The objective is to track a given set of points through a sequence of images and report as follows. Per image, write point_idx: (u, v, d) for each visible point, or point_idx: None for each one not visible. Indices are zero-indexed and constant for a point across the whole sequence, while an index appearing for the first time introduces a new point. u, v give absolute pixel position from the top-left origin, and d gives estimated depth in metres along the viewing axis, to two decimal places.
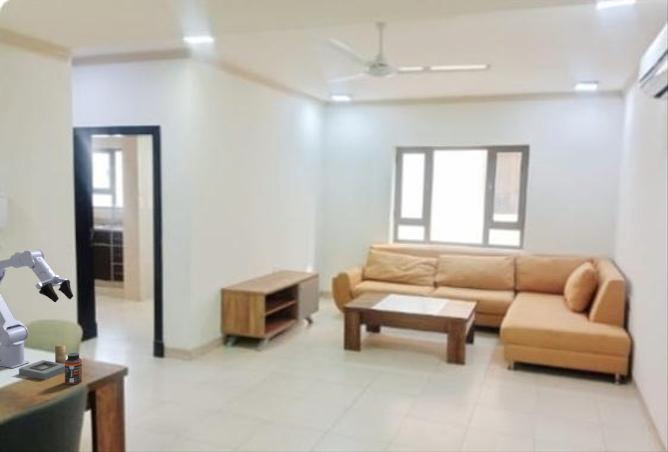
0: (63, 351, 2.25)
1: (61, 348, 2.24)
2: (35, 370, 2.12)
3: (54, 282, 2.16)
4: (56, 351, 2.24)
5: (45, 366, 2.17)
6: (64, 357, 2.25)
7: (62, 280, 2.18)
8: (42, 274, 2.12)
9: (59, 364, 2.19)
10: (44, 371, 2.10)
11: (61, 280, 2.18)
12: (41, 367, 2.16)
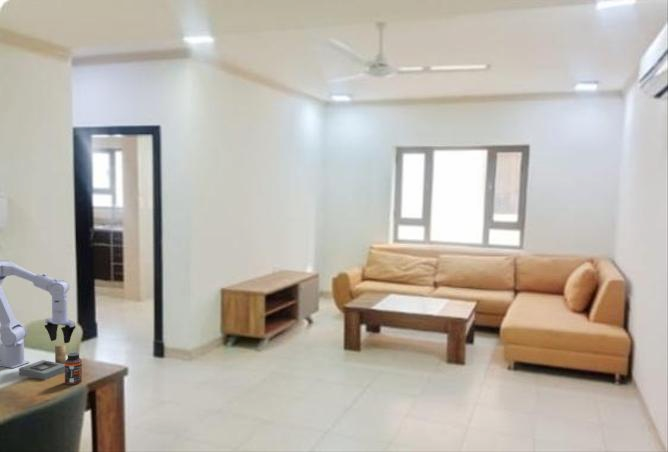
0: (63, 351, 2.25)
1: (61, 348, 2.24)
2: (35, 370, 2.12)
3: None
4: (56, 351, 2.24)
5: (45, 366, 2.17)
6: (64, 357, 2.25)
7: None
8: (66, 312, 2.24)
9: (59, 364, 2.19)
10: (44, 371, 2.10)
11: None
12: (41, 367, 2.16)
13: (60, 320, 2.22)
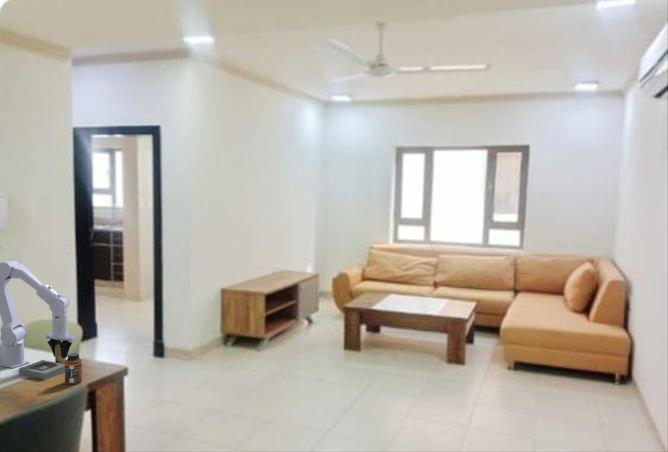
0: None
1: None
2: (35, 370, 2.12)
3: None
4: (56, 351, 2.24)
5: (45, 366, 2.17)
6: None
7: None
8: (66, 327, 2.25)
9: (59, 364, 2.19)
10: (44, 371, 2.10)
11: None
12: (41, 367, 2.16)
13: (60, 336, 2.22)
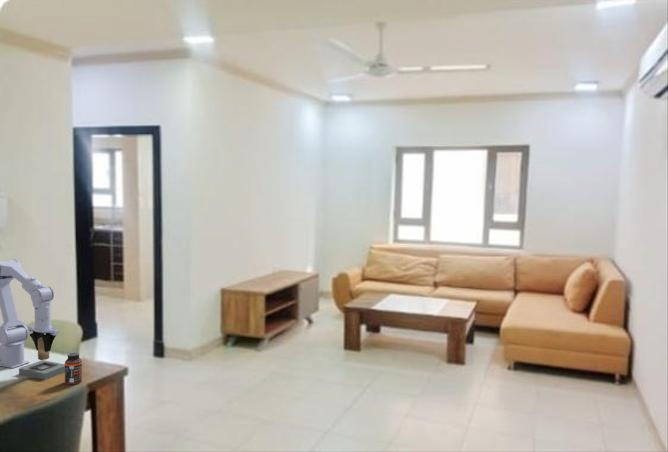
0: None
1: None
2: (35, 370, 2.12)
3: None
4: (39, 344, 2.13)
5: (45, 366, 2.17)
6: None
7: None
8: (49, 319, 2.14)
9: (59, 364, 2.19)
10: (44, 371, 2.10)
11: None
12: (41, 367, 2.16)
13: (43, 328, 2.12)
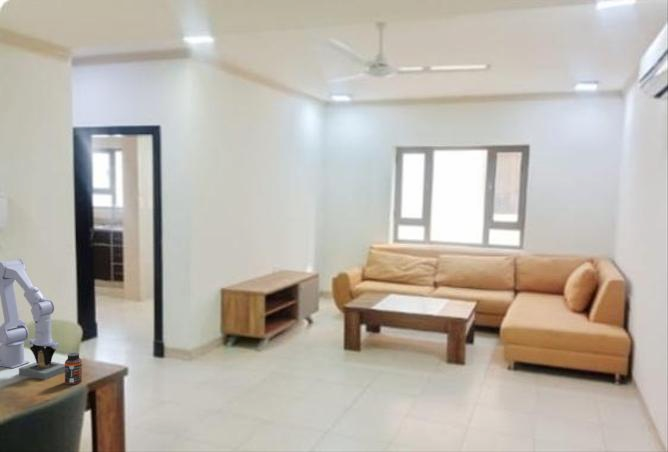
0: None
1: None
2: (35, 370, 2.12)
3: None
4: (39, 357, 2.14)
5: None
6: None
7: None
8: (50, 333, 2.15)
9: (59, 364, 2.19)
10: (44, 371, 2.10)
11: None
12: None
13: (43, 342, 2.12)
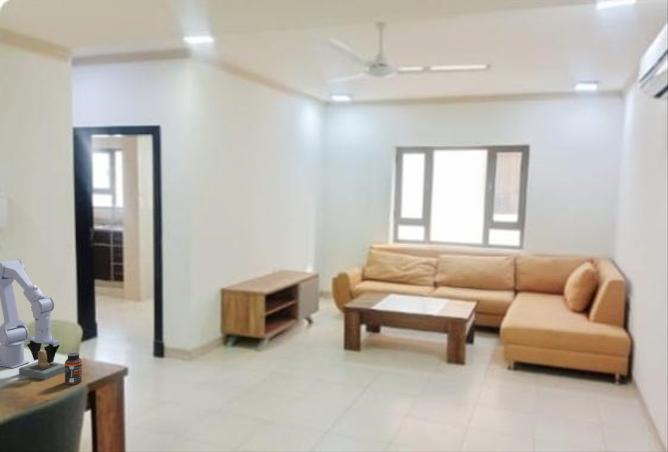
0: (46, 357, 2.15)
1: (44, 354, 2.14)
2: (35, 370, 2.12)
3: None
4: (39, 357, 2.14)
5: None
6: (47, 363, 2.15)
7: None
8: (50, 330, 2.15)
9: (59, 364, 2.19)
10: (44, 371, 2.10)
11: None
12: None
13: (43, 339, 2.12)
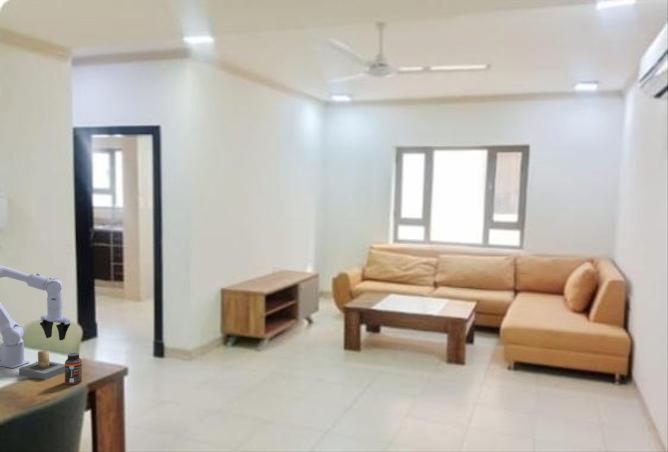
0: (46, 357, 2.15)
1: (44, 354, 2.14)
2: (35, 370, 2.12)
3: None
4: (39, 357, 2.14)
5: None
6: (47, 363, 2.15)
7: None
8: (61, 309, 2.28)
9: (59, 364, 2.19)
10: (44, 371, 2.10)
11: None
12: None
13: (55, 317, 2.26)
